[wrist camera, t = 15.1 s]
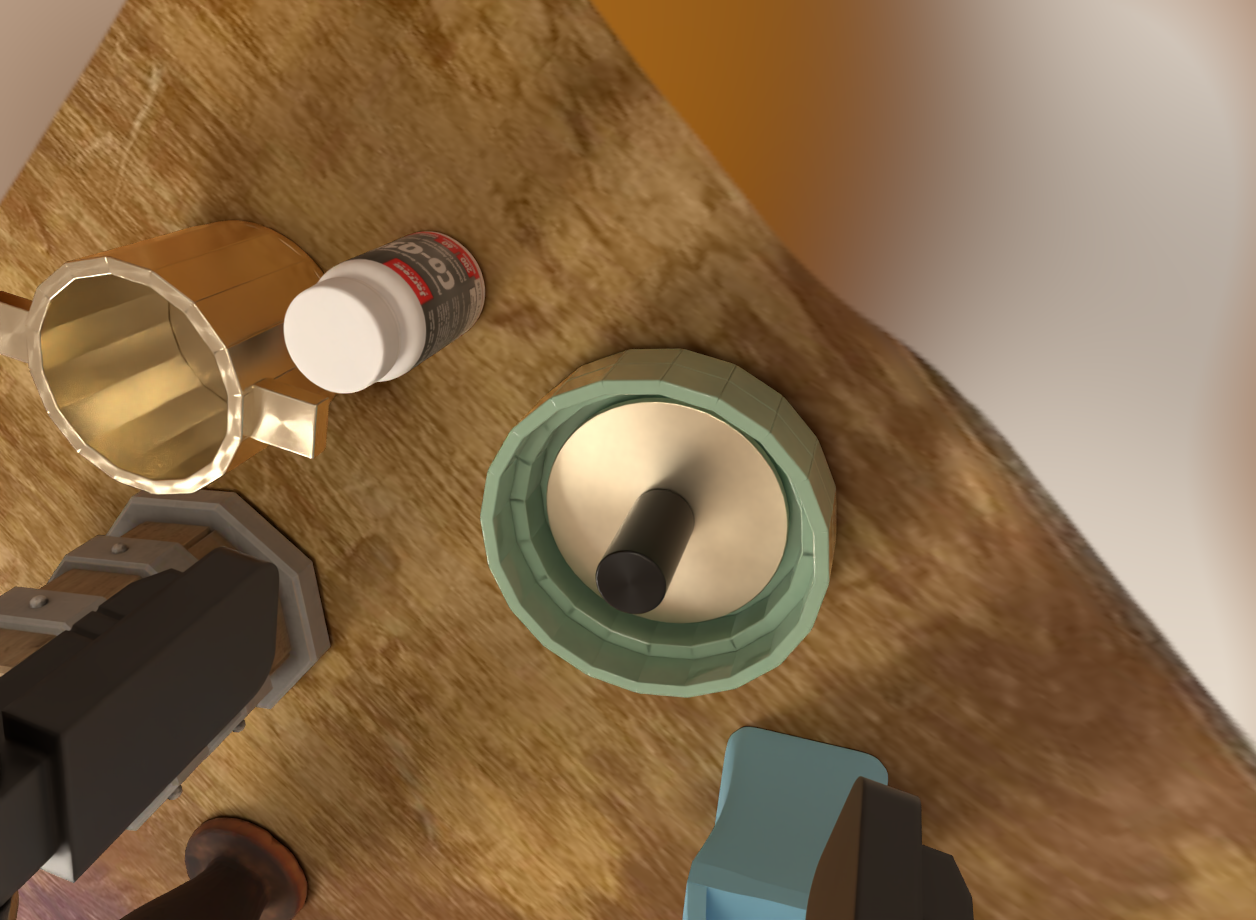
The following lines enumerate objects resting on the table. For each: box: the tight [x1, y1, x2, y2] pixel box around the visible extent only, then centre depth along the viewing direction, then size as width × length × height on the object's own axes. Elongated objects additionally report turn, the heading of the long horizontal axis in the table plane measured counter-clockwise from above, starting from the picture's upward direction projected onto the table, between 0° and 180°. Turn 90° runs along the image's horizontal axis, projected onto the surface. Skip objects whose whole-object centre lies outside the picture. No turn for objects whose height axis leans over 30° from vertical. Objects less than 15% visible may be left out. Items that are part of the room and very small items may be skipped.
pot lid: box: [546, 398, 789, 623], centre depth 39 cm, size 11×11×7 cm
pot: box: [0, 220, 337, 495], centre depth 41 cm, size 10×15×8 cm, turn 78°
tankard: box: [0, 490, 331, 831], centre depth 46 cm, size 20×13×15 cm, turn 93°
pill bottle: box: [284, 231, 485, 393], centre depth 38 cm, size 5×5×8 cm
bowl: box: [480, 349, 837, 697], centre depth 41 cm, size 14×14×4 cm
